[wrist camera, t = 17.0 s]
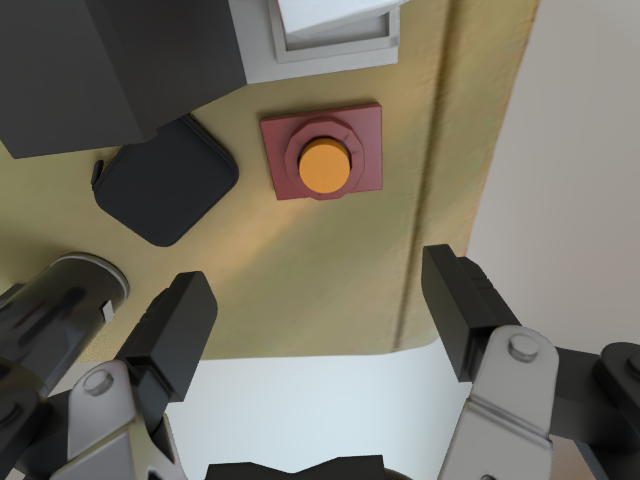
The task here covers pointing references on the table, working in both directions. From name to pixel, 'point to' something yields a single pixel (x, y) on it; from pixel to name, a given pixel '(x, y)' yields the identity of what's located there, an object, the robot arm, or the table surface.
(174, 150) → the carrying case
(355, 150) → the button panel
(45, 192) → the table surface
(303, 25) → the small box
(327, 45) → the coffee dock
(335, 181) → the button
